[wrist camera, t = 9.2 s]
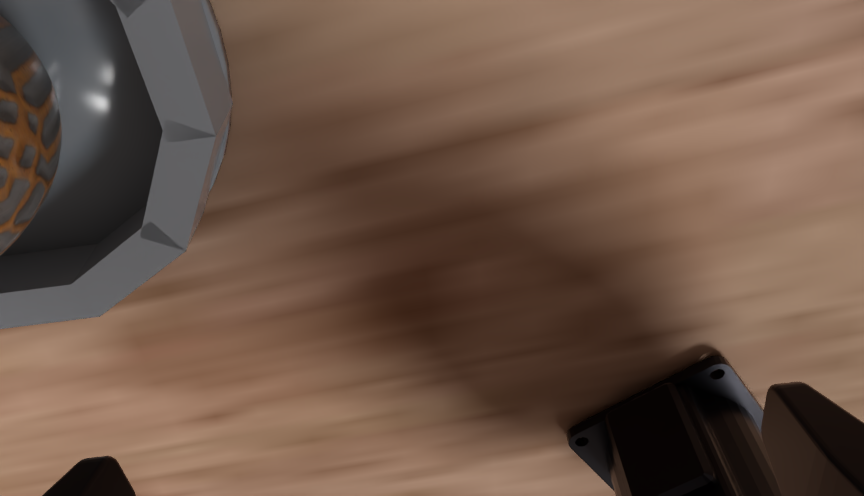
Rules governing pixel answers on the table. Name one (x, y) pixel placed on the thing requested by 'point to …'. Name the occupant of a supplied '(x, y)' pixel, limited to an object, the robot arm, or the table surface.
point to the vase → (24, 134)
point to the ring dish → (118, 149)
